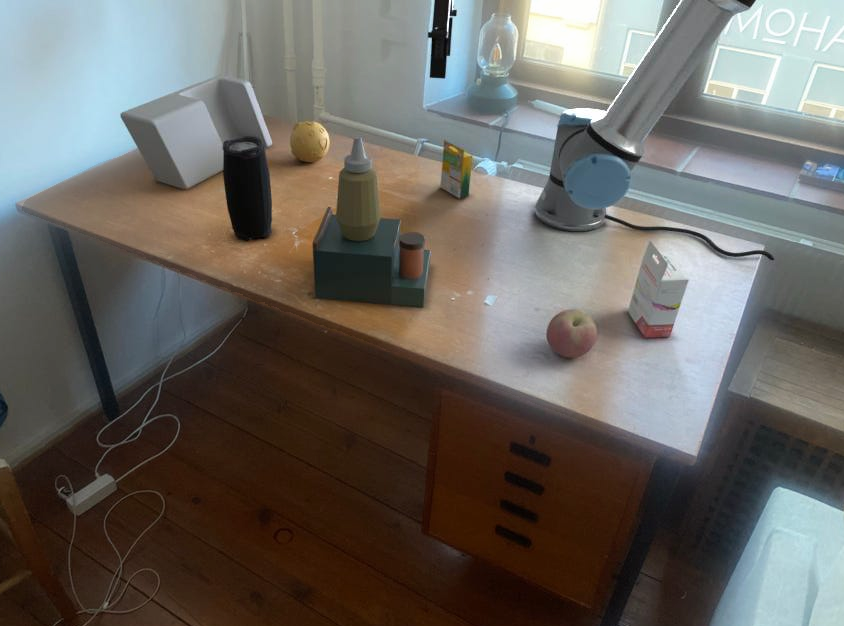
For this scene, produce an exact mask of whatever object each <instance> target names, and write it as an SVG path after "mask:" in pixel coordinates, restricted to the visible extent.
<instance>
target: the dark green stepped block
mask: <svg viewBox="0 0 844 626" xmlns="http://www.w3.org/2000/svg"><path fill="white" fill-rule="evenodd" d="M401 229H402V219H399V218H398V219H397V218H386V217H380V221H379V223H378V226H377V229H376V231H375V234H374V236H373V237H372V238H370V239H368V240H364V241H353V240H349V239H347V238H345V237H344V236H343V235H342V232H341V230H340V227H339V225H338V222H337V219H336V213H335V214H333V207H332V206H327V208H326V210H325V213H324V215H323V218H322V220H321V221H320V224H319V227H318V229H317V231H316V234H315V236H314V238H313V241H312V244H311V245H312V257H313V258H312V260H313V261H312V263H313V279H314V281H313V282H314V297H315V299H324V300H337V301H347V302H358V303H369V304H371V303H372V304H380V305H391V306H392V305H394V306H403V307H404V306H405V307H417V308H424V307H425V301H426V294H427V289H428V288H427V287H428V281H429V274H430V268H431V254H432V251H431V249H424V258H423V274H422V276H421V277H419V278H416V279H406V278H403V277H402V276H400V274H399V249H400V245H399V237H400V235H401V233H402V231H401Z"/></svg>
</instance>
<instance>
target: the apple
mask: <svg viewBox="0 0 844 626" xmlns="http://www.w3.org/2000/svg"><path fill="white" fill-rule="evenodd" d="M545 335H546V336H545V338H546V341H547V343H548V345H549V346H550V348H551V349H552V350H553V352H554V353H556V354H558V355H559V356H561V357H563V358H569V359H575V358H579V357H582V356H584V355H586V354H587V353H588V352H590V351H591V350H592V349H593V348H594V346H595V344H596V340H597V336H598V333H597V326H596V323H595V321H594V319H593V318H592V317H591V316H590V315H589V314H588V313H586V312H584V311H582V310H579V309H566V310H562V311H560V312H558V313H557V314H555V315H554V316H553V317H552V318H551V319H550V321H549V323H548V325H547V328H546V333H545Z"/></svg>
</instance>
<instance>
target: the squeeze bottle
mask: <svg viewBox="0 0 844 626" xmlns="http://www.w3.org/2000/svg"><path fill="white" fill-rule="evenodd" d="M363 143H364V142H363V139H362V137H361V136H359V135H358V136H357V135H356V136H354V137H353V141H352V146H351V151H350V154H348V155H346V156H345V157H344V161H343V162H344V163H343V164H344V165H343V166H344V167H343V168H342V169H341V170H340V171H339V174H338V183H337V184H338V186H337V200H336V210H335V215H336V219H337V222H338V225H339V227H340V230H341V232H342V235H343V236H344V237H345V238H347V239H349V240H353V241H364V240H368V239H370V238H372V237H373V236H374V234H375V231H376V229H377V226H378V223H379V221H380V218H381V206H380V205H381V204H380V193H379V183H378V174H377V173H378V172H377V171H376V170H375V169H374V168H373V167H372V157H371V156H370V155H368V154H366V153H365V148H364V144H363Z"/></svg>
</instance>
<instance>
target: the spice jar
mask: <svg viewBox="0 0 844 626" xmlns="http://www.w3.org/2000/svg"><path fill="white" fill-rule="evenodd" d="M399 245H400V249H399V274H400V276H402V277H403V278H406V279H416V278H419V277H421V276H422V274H423V258H424V250H425V245H426V237H425V235H423V234H422V233H420V232H417V231H407V232H403V233H402V234H400V237H399Z"/></svg>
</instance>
